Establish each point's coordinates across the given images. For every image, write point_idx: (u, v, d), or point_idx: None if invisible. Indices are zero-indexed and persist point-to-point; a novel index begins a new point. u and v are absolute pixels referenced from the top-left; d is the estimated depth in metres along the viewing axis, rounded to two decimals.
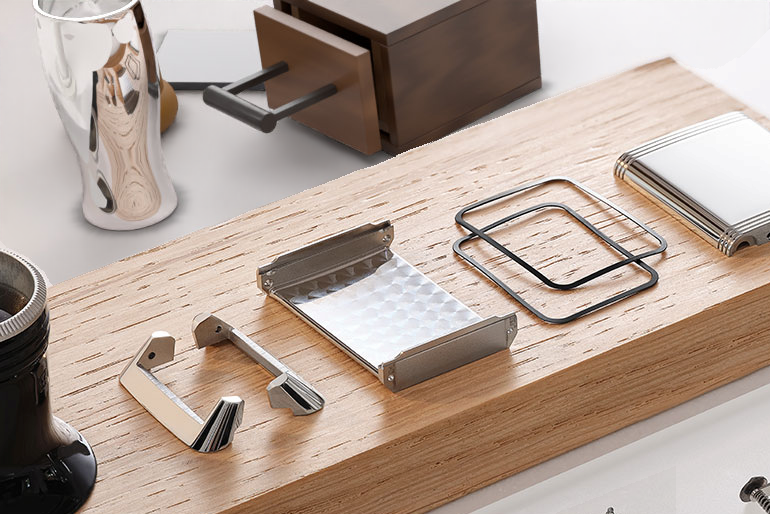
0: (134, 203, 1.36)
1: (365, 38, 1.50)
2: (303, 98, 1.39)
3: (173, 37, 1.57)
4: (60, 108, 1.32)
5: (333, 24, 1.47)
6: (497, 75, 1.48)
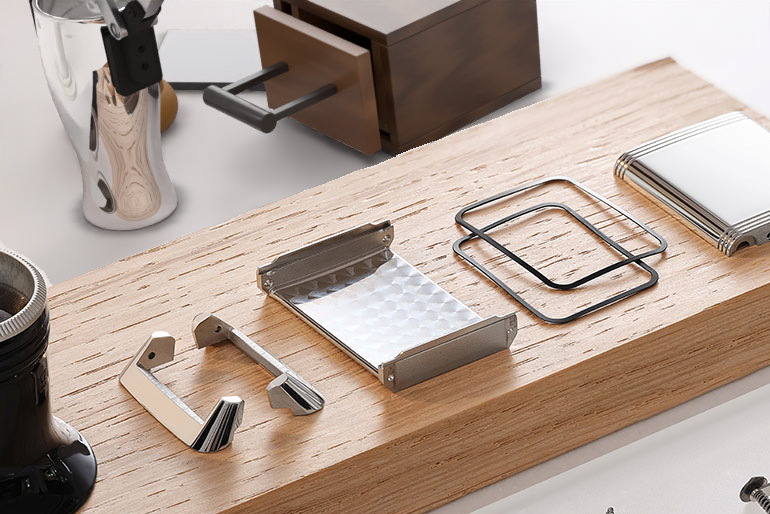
0: (134, 203, 1.36)
1: (365, 38, 1.50)
2: (303, 98, 1.39)
3: (173, 37, 1.57)
4: (60, 108, 1.32)
5: (333, 24, 1.47)
6: (497, 75, 1.48)
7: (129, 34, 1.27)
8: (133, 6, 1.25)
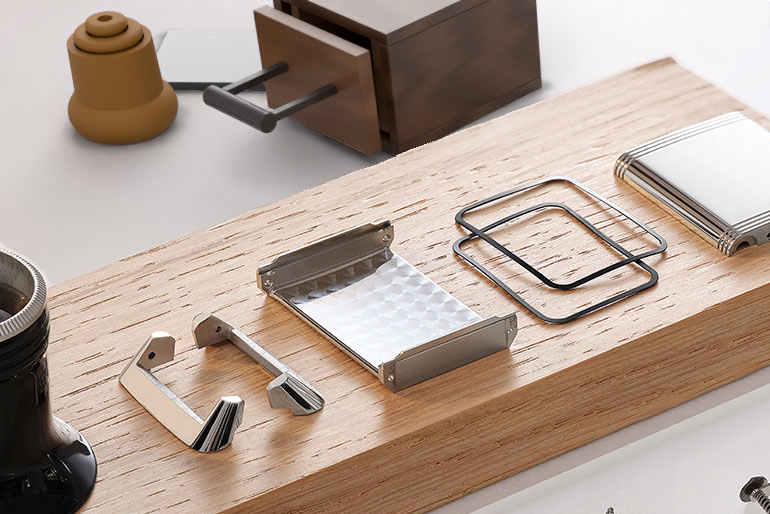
0: None
1: (365, 38, 1.50)
2: (303, 98, 1.39)
3: (173, 37, 1.57)
4: None
5: (333, 24, 1.47)
6: (497, 75, 1.48)
7: None
8: None
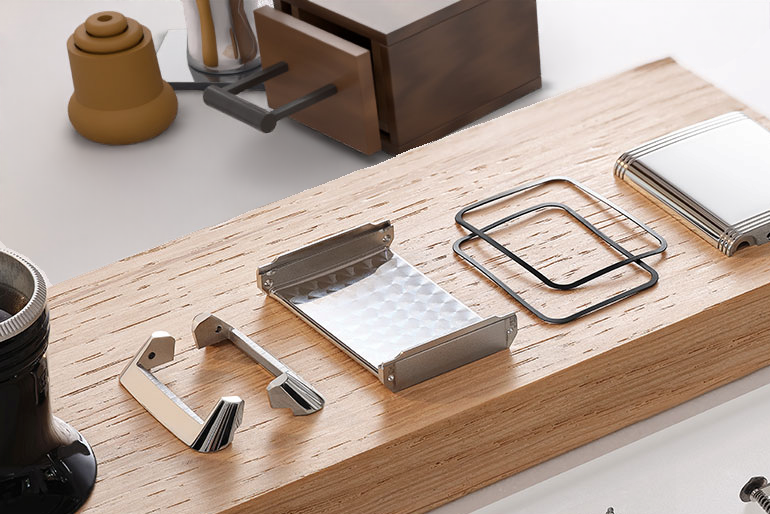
0: (234, 49, 1.51)
1: (365, 38, 1.50)
2: (303, 98, 1.39)
3: (173, 37, 1.57)
4: None
5: (333, 24, 1.47)
6: (497, 75, 1.48)
7: None
8: None
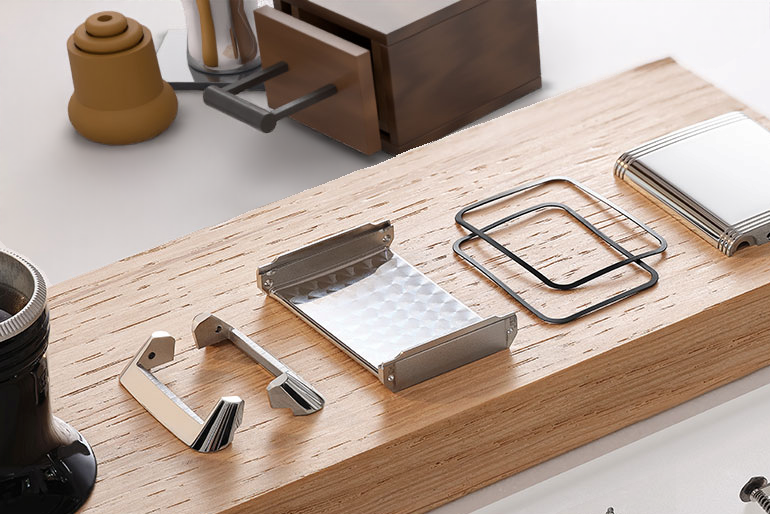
0: (234, 49, 1.51)
1: (365, 38, 1.50)
2: (303, 98, 1.39)
3: (173, 37, 1.57)
4: None
5: (333, 24, 1.47)
6: (497, 75, 1.48)
7: None
8: None
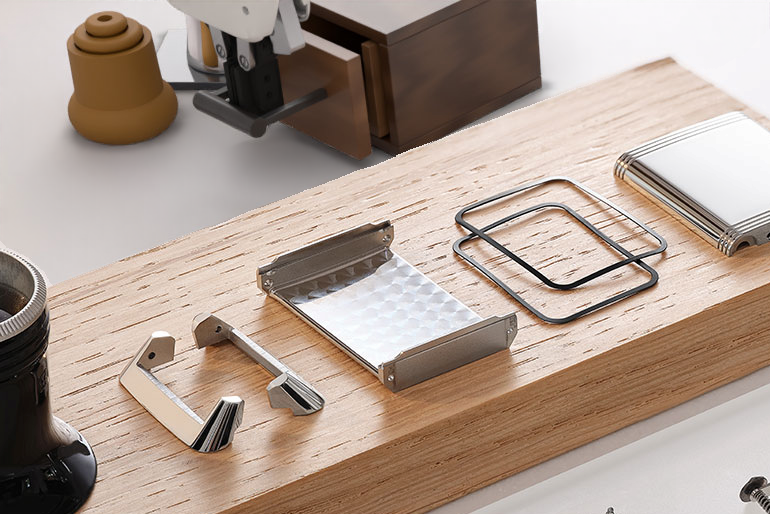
0: None
1: (356, 42, 1.49)
2: (293, 103, 1.39)
3: (173, 37, 1.57)
4: None
5: (324, 28, 1.46)
6: (497, 75, 1.48)
7: (257, 65, 1.36)
8: (262, 40, 1.34)
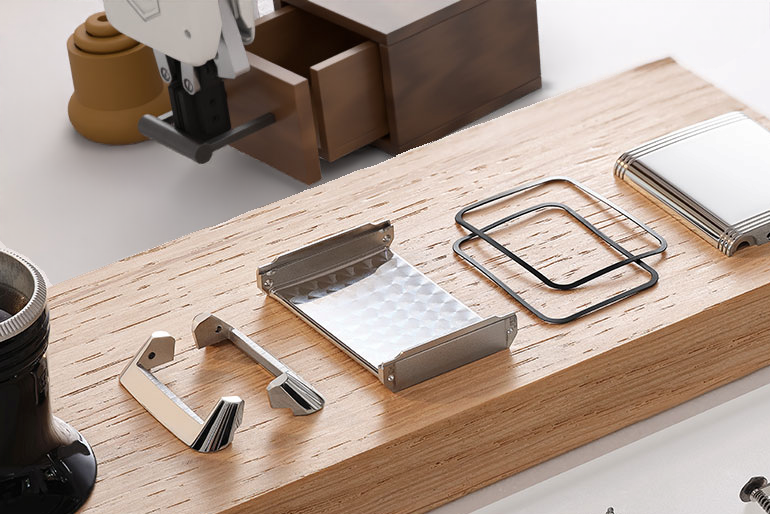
0: None
1: (308, 64, 1.47)
2: (240, 128, 1.36)
3: None
4: None
5: (274, 50, 1.44)
6: (497, 75, 1.48)
7: (202, 89, 1.33)
8: (207, 63, 1.31)
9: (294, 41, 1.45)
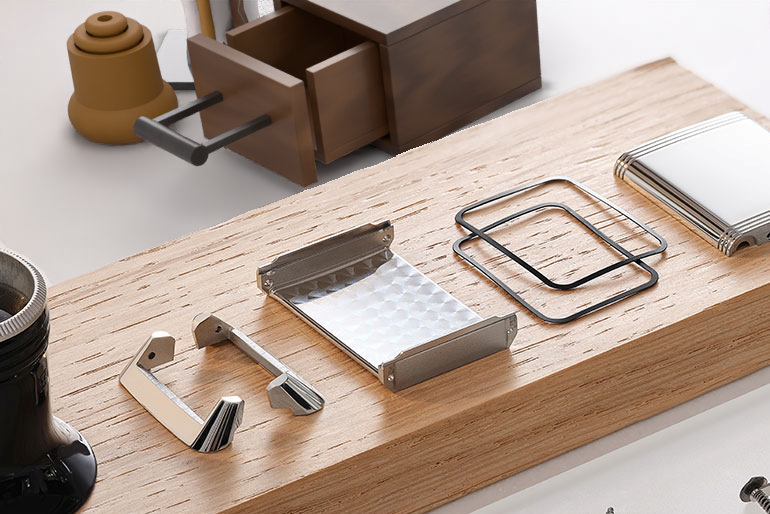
0: None
1: (304, 66, 1.46)
2: (236, 130, 1.36)
3: (173, 37, 1.57)
4: None
5: (270, 52, 1.44)
6: (497, 75, 1.48)
7: None
8: None
9: (290, 43, 1.45)
